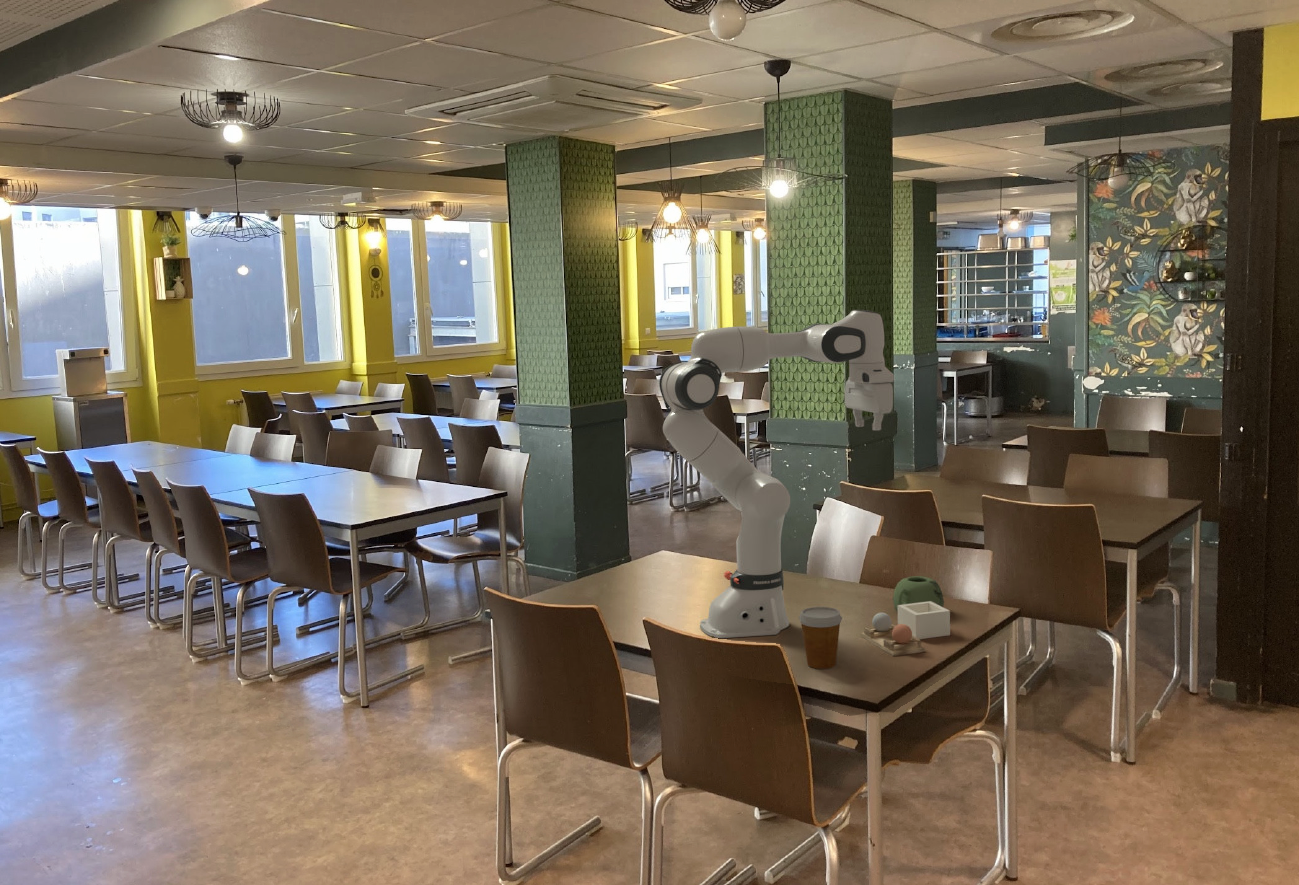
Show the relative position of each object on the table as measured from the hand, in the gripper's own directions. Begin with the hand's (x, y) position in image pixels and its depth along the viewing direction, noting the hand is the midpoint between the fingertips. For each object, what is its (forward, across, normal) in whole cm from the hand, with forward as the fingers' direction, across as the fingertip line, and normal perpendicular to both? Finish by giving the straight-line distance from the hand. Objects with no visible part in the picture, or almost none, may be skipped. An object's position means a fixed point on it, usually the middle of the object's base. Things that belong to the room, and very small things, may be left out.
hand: (868, 428), depth 270 cm
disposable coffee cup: (+48, +33, -29) cm, 65 cm away
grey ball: (+44, +21, -8) cm, 49 cm away
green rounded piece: (+48, +6, +9) cm, 49 cm away
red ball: (+44, +31, -8) cm, 54 cm away
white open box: (+48, +21, +3) cm, 52 cm away
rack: (+48, +26, -8) cm, 55 cm away
